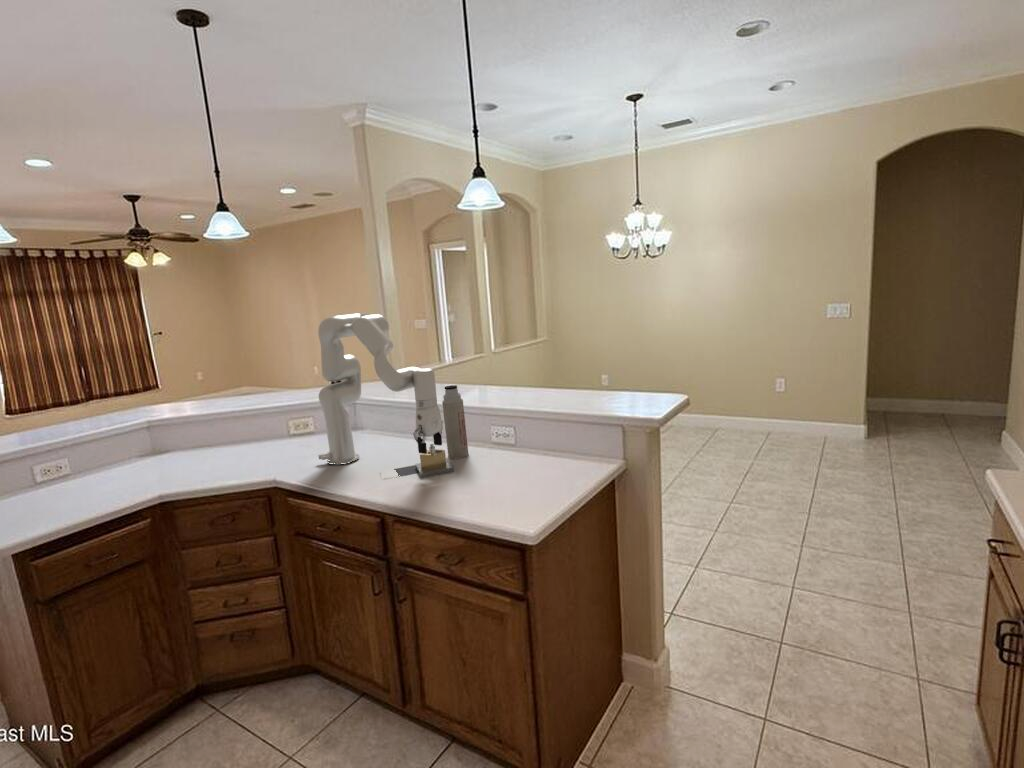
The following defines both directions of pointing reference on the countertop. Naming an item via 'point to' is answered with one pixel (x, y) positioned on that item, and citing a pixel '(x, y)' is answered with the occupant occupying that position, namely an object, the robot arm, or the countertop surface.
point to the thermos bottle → (454, 423)
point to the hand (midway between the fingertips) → (430, 449)
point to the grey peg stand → (432, 472)
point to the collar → (433, 459)
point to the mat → (406, 470)
